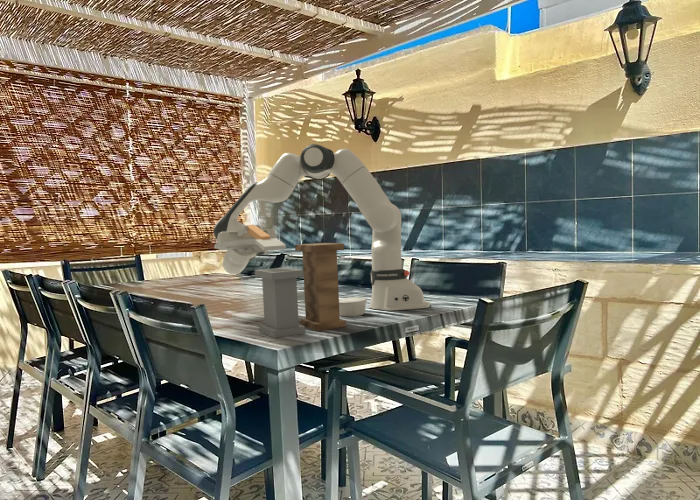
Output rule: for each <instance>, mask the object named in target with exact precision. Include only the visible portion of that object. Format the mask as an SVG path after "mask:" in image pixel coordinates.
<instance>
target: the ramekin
mask: <svg viewBox="0 0 700 500" xmlns="http://www.w3.org/2000/svg"><path fill="white" fill-rule="evenodd" d="M367 302H368V301H367V298H364V297H357V296H355V297H354V296H353V297H342V298H339V313H340V317H345V318H346V317H358V316H362V315H364V314H365V313H366V306H367Z"/></svg>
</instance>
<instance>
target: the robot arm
mask: <svg viewBox="0 0 700 500" xmlns="http://www.w3.org/2000/svg"><path fill="white" fill-rule="evenodd" d="M330 175H334V176H335V177H336V179H338V181H339V182H340V184H341V185H342V186H343V188H344V189H345V190H346V192H347V193H348V194H349V197H351V199H352V200H353V202H354V203H355V204H356V206H357V208H358V210H359V211H360V213H361V214H362V217H364V219H365V220H366V222H367V224H368V225H369V226H370V228H371V229H372V235H371V237H372V238H371V250H370V251H371V270H370V283H371V287H372V288H371V297H370V298H371V299H370V303H369V308H370V309H374V310H382V311H401V310H402V311H403V310H404V311H405V310H415V309H427V308H430V306H431V303H430V302H429V301H428V300H426V299H425V298H424V297H425V296H424V293H423V290H422V289H421V287H420V286H418V285H417V284H415V283H414V282H413V281H411V280H410V279H408V276H409V275H410V271H409V270H408V269H407V270H406V269H404V268H403V267H402V213H401V211H400V209H399V208H398V206H396V205H395V203H394V204H393V203H392V202H391V201H390V199H389V198H388V196H387V195H386V193H385V192H384V190H383V189H382V187H381V186H380V183H378V181H377V180H376V178H375V177H374V176H373V174H372V173H371V172H370V170H369V169H368V168H367V166H366V165H365V164H364V163H363V161H362V160H361V159H360V157H358V156H357V155H356V154H355V153H354V152H353V151H352V150H351V149H348V148H341V149H339V150H336V151H335V152H334V151H333V150H332V149H330V148H328V147H325V146H322V145H320V144H316V143H312V144H309V145H307V146H305V147H304V148H303V149H302V150H301V152H300V155H297V154H295V153H293V152H285V153H283V154H282V155H281V156H280V157H279V158H278V159H277V161H276V162H275V164H273V166H272V167H271V169H270V170H269V172H268V174H267V176H266V177H265V178H264V179H263V180H261V181H254V182H253V183H251V185H249V186H248V188H247V189H245V190H244V192H243V193H242V194H241V196H240V197H239V198H237V200H236V201H235V202H234V204H233V205H232V206H231V207H230V208H229V210H228V211H227V212H226V213H225V214H224V215H223V216H222V217H221V218H220V219H218V220H217V222H216V223H215V224H214V227H213V230H212V231H213V234H214V237H215V240H216V243H214V246H213V247H214V249H216V250H220V251H225V254H224V256H223V260H222V268H223V269H224V271H225V272H227V273H228V274H230V275H233V276H234V275H239V274H240V273H241V272H242V271H244V270H245V268H246V267H247V265H248V264H249V262H250V261H252V260H254V259H256V257H257V256H261V255H265V254H267V253H268V251H269V250H263V249H262V248H260V247H259V246H258V245H257V244H255V240H257V239H255V238H254V237H253V236H252V235H250V234H249V233H248V226H246V225H247V224H244V223H242V222H241V221H239V220H238V217H239V216H240V215H241V214H242V212H243V211H244V210H245V209H246V207H247V206H249V204H251V203H252V202H254V201H264V202H268V203H282V202H285V201H287V200H288V199H289V197H291V195H292V193H293V192H294V190H295V188H296V186H297V185H298V183H299V182H300V180H301V179H302V178H303V177H304V178H305V179H307V178H308V179H311V180H317V181H320V180H321V181H323V180H324V179H327V178H328V177H329V176H330ZM255 226H257V227H258V228H259V229H261V230H262V231H264V232H265V233H267V234H268V235H269V236H270V239H272V238H277V233H276V230H275V229H274V228H267V229H264V228H262V227H261V225H260V224H258V225H256V224H255Z"/></svg>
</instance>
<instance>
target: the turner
mask: <svg viewBox="0 0 700 500" xmlns="http://www.w3.org/2000/svg"><path fill="white" fill-rule="evenodd" d="M245 225H246V226H248V233H249V234H250V235H252V236H253V237H254V238H255V239H257V240H255V244H257V245H258V246H259V247H260V248H262V249H263V250H268V251H273V250H286V249H287V245H286V244H285V243H284V242H283V241H281V240H280V239H278V238H277V237H276V238H272V239H270V236H269V235H268V234H267V233H265V232H264V231H262V228H261V229H259V228H258V227H257V226H256V224H245Z"/></svg>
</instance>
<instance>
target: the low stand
mask: <svg viewBox="0 0 700 500" xmlns="http://www.w3.org/2000/svg"><path fill="white" fill-rule="evenodd" d="M254 276H255V277H256V278H261V279H262V280H261V281H262V283H261V284H262V299H263V300H262V301H263V302H262V303H263V316H264V317H263V318H264V319H263V320H264V321H263V322H264V324H263V323H262V324H259V325H258V331H259V332H260V333H262V334H264V335H266V336H268V337H271V338H273V339H274V338H275V339H276V338H283V337H289V336H297V335H301V334H306V327H305V326H302V325H301V324H299V322H300V320H299V307H298V306H299V303H298V283H297V282H298V281H297V280H298V279H297V278H304V271H303V269H300V268H299V269H298V268H292V267H286V266H285V267H284V266H283V267H275V268H274V267H273V268H263V269H254Z"/></svg>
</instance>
